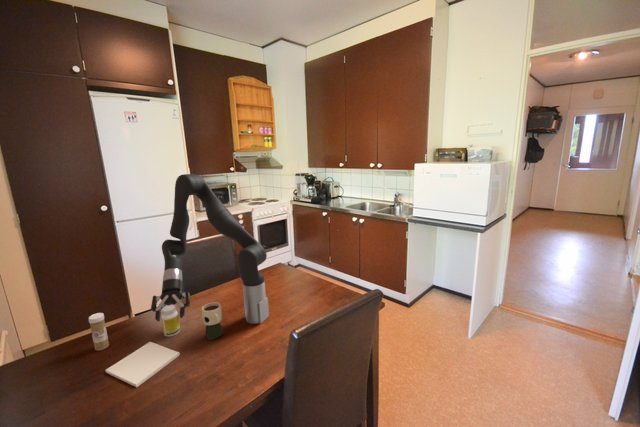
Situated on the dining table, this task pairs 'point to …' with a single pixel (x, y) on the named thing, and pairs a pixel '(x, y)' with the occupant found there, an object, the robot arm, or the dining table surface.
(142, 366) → the ceramic tile
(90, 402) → the dining table surface
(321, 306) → the dining table surface
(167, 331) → the pill bottle
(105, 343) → the sprinkles bottle
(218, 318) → the character mug
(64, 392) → the dining table surface
